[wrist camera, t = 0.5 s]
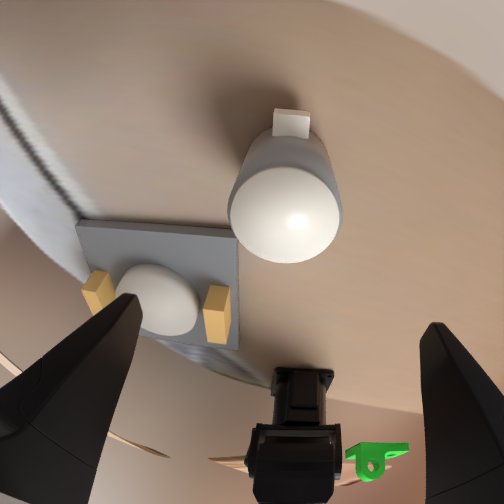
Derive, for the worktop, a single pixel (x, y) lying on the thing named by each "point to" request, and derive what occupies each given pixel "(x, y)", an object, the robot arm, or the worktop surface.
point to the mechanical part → (374, 457)
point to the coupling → (286, 193)
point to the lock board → (172, 252)
